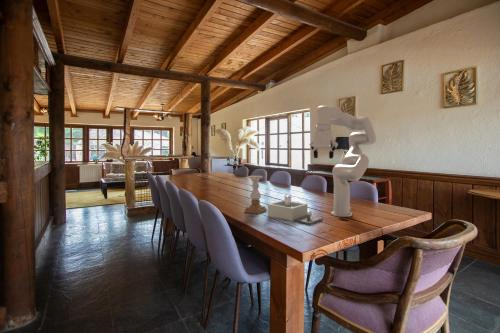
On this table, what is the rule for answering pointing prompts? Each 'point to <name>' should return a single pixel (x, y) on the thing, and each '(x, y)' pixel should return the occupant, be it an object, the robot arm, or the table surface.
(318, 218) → the stud base
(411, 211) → the table surface
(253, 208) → the candle holder
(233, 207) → the table surface
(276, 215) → the bin
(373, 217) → the table surface
